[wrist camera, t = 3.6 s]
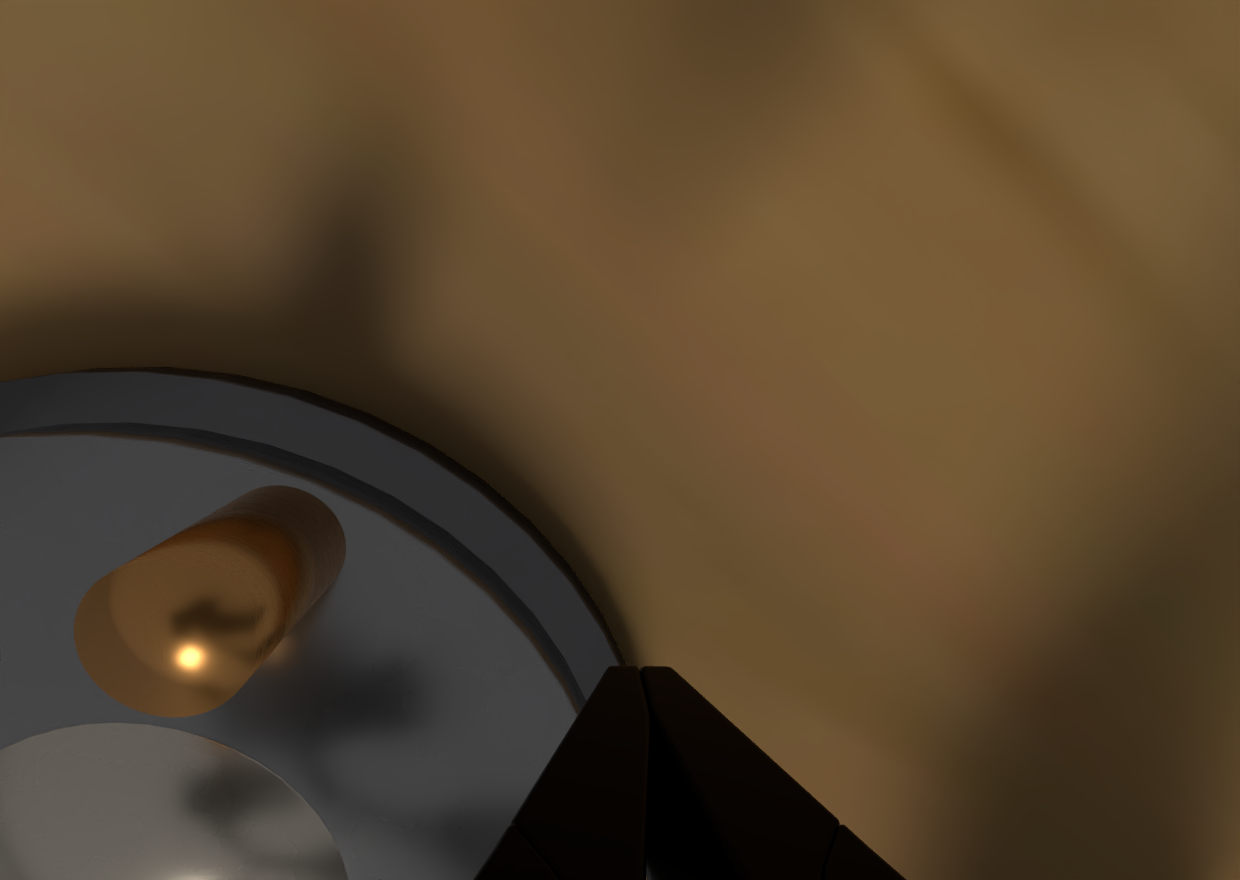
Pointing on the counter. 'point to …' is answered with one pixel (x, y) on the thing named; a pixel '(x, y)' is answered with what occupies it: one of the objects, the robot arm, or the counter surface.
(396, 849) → the turntable
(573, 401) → the counter surface
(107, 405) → the turntable base
